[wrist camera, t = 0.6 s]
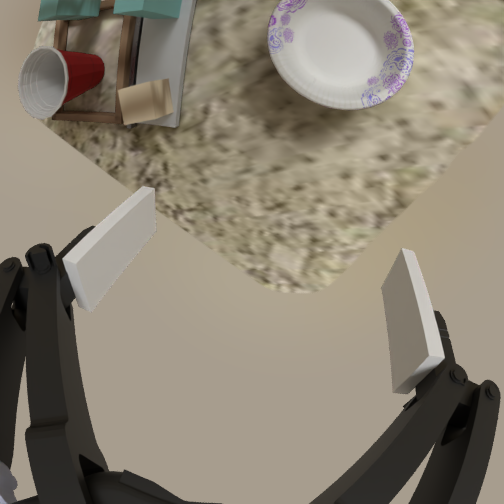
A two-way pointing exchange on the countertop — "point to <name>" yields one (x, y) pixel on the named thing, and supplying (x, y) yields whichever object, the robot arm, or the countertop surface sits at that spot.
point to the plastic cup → (56, 79)
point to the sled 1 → (62, 10)
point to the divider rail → (135, 55)
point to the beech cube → (145, 101)
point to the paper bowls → (341, 50)
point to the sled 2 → (162, 45)
